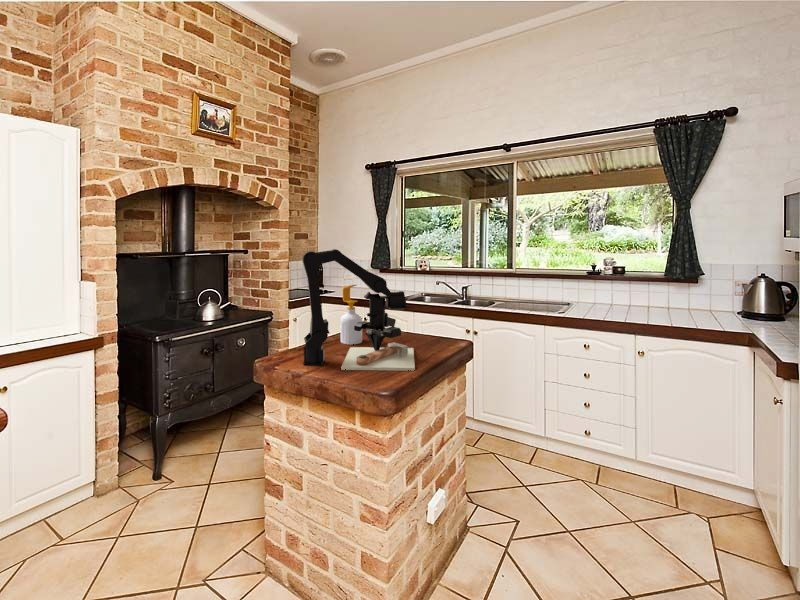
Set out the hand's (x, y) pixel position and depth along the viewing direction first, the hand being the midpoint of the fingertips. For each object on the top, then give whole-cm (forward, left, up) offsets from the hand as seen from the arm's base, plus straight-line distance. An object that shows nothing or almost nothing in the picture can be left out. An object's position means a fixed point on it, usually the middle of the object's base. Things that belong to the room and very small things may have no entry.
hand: (377, 351), depth 167 cm
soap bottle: (-12, +23, -3) cm, 27 cm away
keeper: (+8, +1, -2) cm, 8 cm away
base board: (+1, -2, -2) cm, 3 cm away
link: (+1, -3, -1) cm, 4 cm away
